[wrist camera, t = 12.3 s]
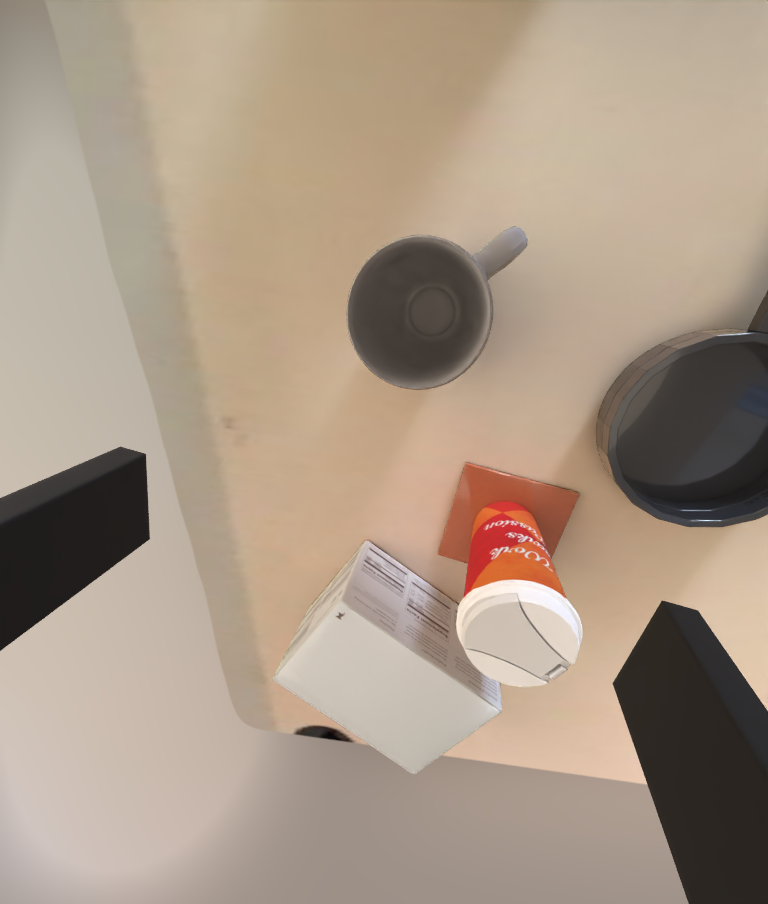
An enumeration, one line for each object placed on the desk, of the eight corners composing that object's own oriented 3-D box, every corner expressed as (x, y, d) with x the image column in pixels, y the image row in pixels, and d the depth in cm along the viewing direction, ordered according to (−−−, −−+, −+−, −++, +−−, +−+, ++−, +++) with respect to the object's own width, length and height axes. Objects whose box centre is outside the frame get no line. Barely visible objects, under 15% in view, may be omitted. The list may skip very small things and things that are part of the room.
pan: (641, 309, 30) (661, 311, 27) (853, 354, 28) (901, 362, 25) (569, 479, 35) (578, 497, 32) (743, 525, 34) (771, 549, 31)
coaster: (465, 462, 37) (465, 464, 36) (578, 492, 36) (579, 494, 35) (438, 551, 41) (437, 554, 40) (538, 581, 40) (539, 585, 39)
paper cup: (567, 524, 36) (618, 647, 24) (509, 577, 39) (526, 712, 27) (497, 472, 36) (509, 569, 23) (444, 530, 39) (428, 643, 26)
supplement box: (305, 611, 47) (267, 681, 38) (367, 536, 42) (338, 598, 33) (424, 693, 48) (412, 780, 39) (499, 631, 42) (504, 715, 34)
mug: (420, 387, 35) (402, 417, 26) (357, 302, 34) (316, 304, 25) (548, 295, 31) (577, 294, 22) (481, 192, 30) (484, 147, 21)
